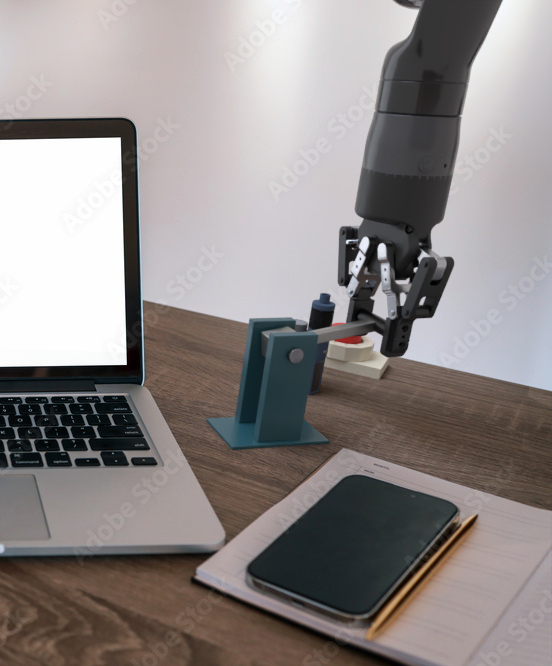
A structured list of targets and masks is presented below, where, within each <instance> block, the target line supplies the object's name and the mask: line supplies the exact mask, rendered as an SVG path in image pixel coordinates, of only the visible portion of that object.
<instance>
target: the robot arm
mask: <svg viewBox="0 0 552 666" xmlns="http://www.w3.org/2000/svg"><path fill="white" fill-rule="evenodd" d="M392 1H393V2H394V3H395V4H396V5H398V6H400V7H402V8H405V9H409V10H413V11H414V10H415V11H418V12H417V15H416V17H415V21H414V22H413V25H412V28H411V30H410V33H409V34H408V36H407V37H405V38H404V39H402V40H400V41H398V42H396V43H394V44H393V45H392V46H391V47H389V48H388V50H386V53H385V55H384V58H383V60H382V61H383V62H382V66H381V69H380V76H379V81H378V87H377V93H376V97H375V99H376V100H375V104H374V111H373V115H372V119H371V123H370V125H369V128H368V131H367V135H366V140H365V144H364V150H363V157H362V161H361V162H362V163H361V167H360V174H359V180H358V186H357V191H356V197H355V203H354V213H355V214H356V215H357V216H358V217H359V218H361V219H362V221H361V223H360V225H342V226H340V228H339V231H338V256H337V257H338V258H337V284H338V286H339V287H344V288H345V289H346V295H347V297H348V298H349V302H348V307H347V314H346V319H345V323H350V322H355V321H356V319H355V315H356V313H357V312H358V311H359V310H360V309H366V310H368V311H370V312H372V313H374V307H375V301H376V300H375V299H373V298H372V297H374V296H375V295H376V294H377V291H378V290H379V287H380V285H381V291H382V293H383V294H385V295H386V302H387V316H388V317H387V316H386V317H385V320H386V322H385V327H384V332H383V336H381V337H382V338H381V343H380V349H379V352H380V353H381V354H382V355H384V356H385V357H390V358H401V357H403V356H404V355H405V354H406V352H407V351H408V349H409V345H410V340H411V339H410V338H411V334H412V331H413V325H414V322H415V321H416V320H418V319H432V318H433V317H434V316H435V314H436V312H437V308H438V306H439V304H440V302H441V298H442V297H443V294H444V292H445V289H446V287H447V284H448V282H449V279H450V277H451V276H452V272H453V270H454V268H455V260H454V257H452V256H440V255H439V254H437V253H436V252H435V251H434V250H433V243H432V231H433V229H434V228H435V226H437V225H439V224H440V223H442V222H443V221H444V218H445V214H446V209H447V205H448V201H449V196H450V191H451V187H452V181H453V178H454V177H453V176H454V173H455V167H456V163H457V158H458V153H459V148H460V140H461V127H462V119H463V114H464V108H465V104H466V99H467V95H468V89H469V84H470V81H471V80H470V79H471V73H472V69H473V68H472V67H473V65H474V63H475V60H476V58H477V56H478V54H479V53H480V51H481V49H482V47H483V44H484V43H485V42H486V39H487V36H488V35H489V32H490V29H491V28H492V25H493V23H494V21H495V19H496V17H497V15H498V12H499V10H500V8H501V6H502V4H503V1H504V0H392ZM351 262H353V264H352V265H351V266H352V267H351V269H350V264H351ZM407 280H408V283H404V284H403V283H401V284H400V283H397V281H407ZM401 294H404V295H405V300H404V303H403V305H401ZM423 298H424V301H423V303H422V304H421V301H422V299H423ZM368 334H369V333H365V334H361V335H356V336H367V335H368Z"/></svg>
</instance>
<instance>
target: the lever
mask: <svg viewBox="0 0 552 666" xmlns="http://www.w3.org/2000/svg"><path fill="white" fill-rule="evenodd" d="M355 319H356V321H355V322H350V323H346V322H344V323H345V324H341V325H336V326H331V327H327V328H322V329H317V330H312V331H308V332H315V333H316V334H318V341H317V344H319V343H323V342H328V341H333V340H337V339H342V338H347V337H351V336H356V335H361V334H365V333H368V334H369V333H373V332H374V333H376V334H378V335H380V336H381V337H383V332H384V327H385V322H386V318H384V317H382V316H380V315H378V314H377V313H374V312H373V313H372V312H370V311H368V310H366V309H360V310H359V311H358V312H357V313H356V315H355ZM279 332H296V331H294V330H293V329H291V328H290V327H288V326H287V327H282V328H277V329H272V330H268V331H263V332H261V350H262V355H263V356H264V357H265V358H266V353H267V347H268V340H269V334H270V333H279Z"/></svg>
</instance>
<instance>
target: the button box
mask: <svg viewBox="0 0 552 666" xmlns="http://www.w3.org/2000/svg"><path fill="white" fill-rule="evenodd" d="M375 344H376V343H375V341H374V340H373V338H372V337H370V336H367V335H365V336H362V338H361V343H360V344H345V343H340V342H336V341H334V340H333V341H329V346H328V352H327V356H326V358H325V363H324V368H328V369H332V370H337V371H341V372H343V373H344V372H345V373H349V374H353V375H357V376H362V377H366V378H370V379H373V380H378V381H379V380H380V379H381V377H382V376H383V374H384V372H385V371H386V369H387V368H388V366H389V365H390V359H391V357H385V356H384V355H382V354H381V353H380V351H376V350H374V347H375Z"/></svg>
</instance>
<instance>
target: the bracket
mask: <svg viewBox="0 0 552 666" xmlns="http://www.w3.org/2000/svg"><path fill="white" fill-rule="evenodd" d="M294 319H295V318H293V317H292V316H291V317H288V316H287V317H253V318H251V317H250V318H249V319H248V326H247V333H246V339H245V345H244V346H245V347H244V354H243V361H242V366H241V374H240V381H239V388H238V395H237V401H236V402H237V403H236V408H235V415H234V416H227V417H210V418H209V417H208V418H206V419H205V421H206V423H207V424H208V425H209V426H210V427H211V428H212V430H213V431H214V432H215V433H216V434H217V435H218V436H219V438H221V439H222V441H223V442H224V443H225V444H226V445H227V446H228V447H229V448H230V450H231V451H239V450H254V449H269V448H285V447H299V446H315V445H328V444H330V440H329V439H328V438H327V437H326V436H324V434H322V433H321V432H320V431H319V430H318V429H316V428H315V427H314V426H313V425H311V424H310V423H309V422H308V421H307V420H306V419H305V414H306V408H307V403H308V397H309V395H308V392H309V386H310V381H311V375H312V369H313V364H314V358H315V353H316V347H317V341H318V334H316V333H315V332H279V333H270V334H269V340H268V347H267V353H266V358H265V357H264V356H263V355H262V350H261V332H263V331H268V330H272V329H277V328H282V327H287V326H288V327H290V328H291V329H293V330H294V331H295V325H296V320H294Z"/></svg>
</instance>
